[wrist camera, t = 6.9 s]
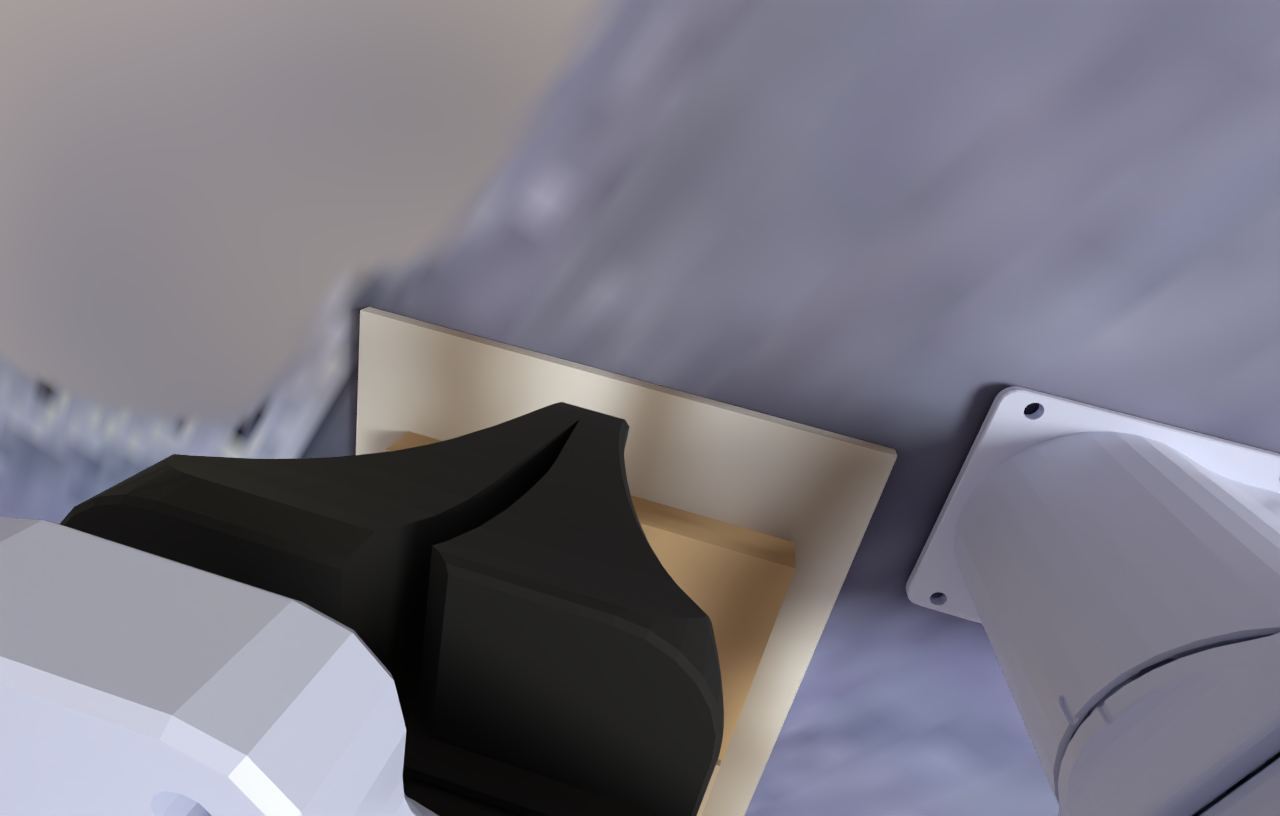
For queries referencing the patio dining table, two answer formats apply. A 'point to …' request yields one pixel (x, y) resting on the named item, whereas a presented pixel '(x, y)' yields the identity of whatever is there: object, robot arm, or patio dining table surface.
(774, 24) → the patio dining table surface
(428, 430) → the floor section
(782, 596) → the plank
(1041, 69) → the patio dining table surface
